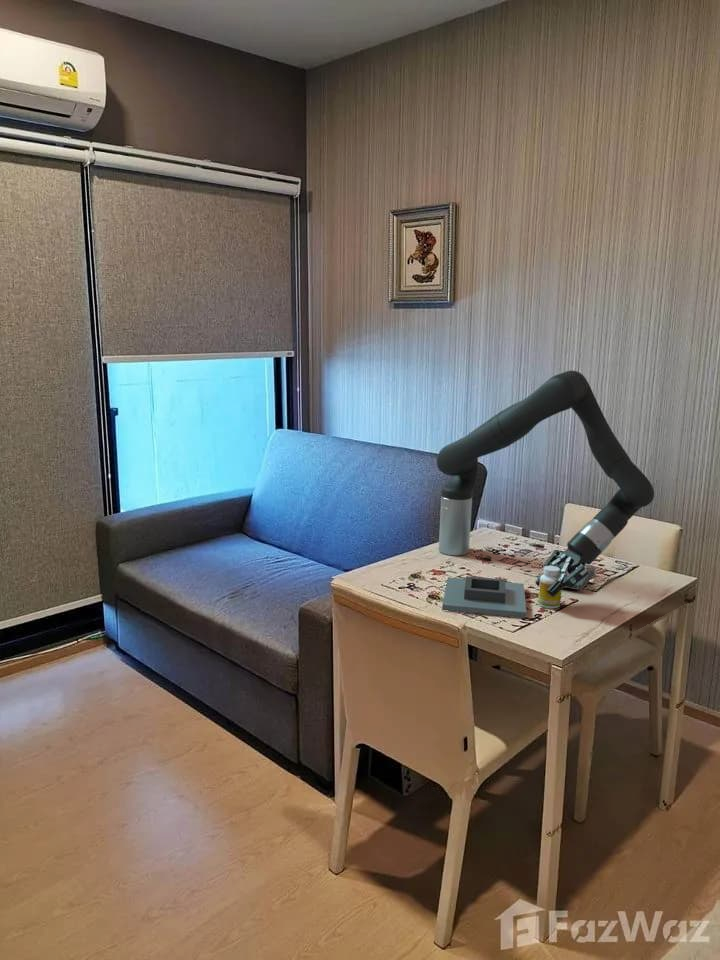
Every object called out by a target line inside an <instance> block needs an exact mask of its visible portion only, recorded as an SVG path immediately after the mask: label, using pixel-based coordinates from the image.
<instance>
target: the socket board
mask: <svg viewBox="0 0 720 960" xmlns="http://www.w3.org/2000/svg"><path fill="white" fill-rule="evenodd" d="M465 576H466V577H465V578H461V577H449V576H448V577H447V579H446V585H445V589H444V595H443V600H442V604H441V605H442V606H441V607H442V608H441V611H442V610H448V611H447V612H453V611H454V612H456V613H464V612H465V613H467V614H475V613H480V614H479V615H485V614H488V616H496V615H498V616H500V617H506V618H507V617H508V618H509V617H510V618H518V619H527V606H526V605H527V603H526V594H525V586H524V585H525V584H524V583H521V582H519V583H518V582H509V581H508V582H507V581H506V579H503V578H492V577H491V578H490V577H480V576H479V577H478V576H470V575H465ZM454 612H453V613H454ZM465 613H464V614H465ZM498 616H497V617H498Z"/></svg>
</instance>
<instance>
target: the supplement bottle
mask: <svg viewBox="0 0 720 960" xmlns="http://www.w3.org/2000/svg"><path fill="white" fill-rule="evenodd" d="M543 573H544V574H543ZM543 573H542V574H543V575H542V574H541V575H542V576H541V575H540V576H541V577H540V576H539V577H540V585H539V586H538V601H537V604H538V606H540V607H541V608H545V609H549V610H551V609H558V608H560V606H561V600H562V599H561V597H562V589H561V590H560V591H559V592H558V593H557V594H556V595H555V596H553V597H552V596H551V595H550V594H549V593H548V592H547V590H548V588H549V587H550V586H551V585H552V584H553V583H554V582H555V581H556V580H557V581H558V579H559V577H560V576H559V575H560V568H558V567H555V566H550V565H548V566H545V567H544V568H543Z"/></svg>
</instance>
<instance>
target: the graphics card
mask: <svg viewBox="0 0 720 960" xmlns="http://www.w3.org/2000/svg"><path fill="white" fill-rule="evenodd" d="M557 565H558V564H557ZM557 567H558V566H557ZM584 567H585V568H586V569H587V570H588V572H589V574H588V575H586V576H585V577H584V578H583V579H581V580H580V581H579V582H578V583H577V584H575V585H574V586H573V587H571V588H570V587H569V586H566V587H564V588H565V589H566V588H567V589H574V590H577V591H578V590H579V591H582V589H583V588H585V586H587V584H588V583H589V580H590V579H593V578H594V577H595V578H596V576H595V575H597V573H596V572H597V565H596V566H594V565H592V564H585V566H584ZM558 568H559V567H558ZM560 575H561V574H560ZM560 575H559V576H560ZM578 575H579V574H578ZM565 578H566V577H565ZM574 579H575V578H573V580H574ZM573 580H570V581H571V582H572V581H573Z"/></svg>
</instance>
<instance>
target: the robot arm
mask: <svg viewBox="0 0 720 960" xmlns="http://www.w3.org/2000/svg"><path fill="white" fill-rule="evenodd" d="M569 409H570V410H571V409H572V410H573V412H574V413H575V414H576V416H577V417H578V419H579V420H580V421H581V424H582V426H583V428H584V431H585V435H586V439H587V441H588V446H589V448H590V450H591V453H592V456H593V457H594V458H595V460H596V461H597V463H598V466H600V468H601V469H602V471H603V472H604V474H605V475H606V477H608V478H609V479H611V480H613V481H614V482H615V483H616V484H617V486H618V487H619V489H618V490H617V492H616V493H615V494H614V495H612V497H611V499H610V500H609V502H607V504H606V505H605V506H604V507H602V509H600V510H599V511H598V512H597V514H596V515H594V517H593V518H592V519H590V520H589V521H588V522H586V523H585V524H584V525H583V527H581V529H579V530H578V532H576V534H574V536H573V537H571V539H570V540H568V542H567V545H566V546H567V548H566V550H564V551H562V552H560V551H559V550H558V549H554V550H553V552H552V553H551V554H550V555H549V556H548V558H547V559H546V561H545V562H544V563H543V564H542V568H543V569H544V567H545V566H555V567H557V566H558V567H559V568H560V574H561V575H560V577H559V579H558V581H557V580H556V581H555V582H554V583H553V584H552V585H551V586H550V587H549V588H548V590H547V592H548V593H549V594H550V595H551V596H552V597H553V596H555V595H556V594H557V593H558V592H559V591H560V590H561V591H562V589H563V588H565V587H566V586H569V587H570V588H569V589H572V588H571V587H573V586H574V585H575V584H577V583H578V582H579V581H580V580H581V579H583V578H584V577H585V576H586V575H588V574H589V572H588V570H589V569H588V570H587V569H586V566H585V564H586V565H592V563H593V562H594V561H595V560H597V558H598V557H599V556H600V555H601V554H602V553H603V552H604V550H606V549H607V548H608V546H610V544H611V543H612V541H614V539H615V538H616V537H617V536H618V535H619V534H620V533H621V532H622V530H624V529H625V528H626V526H627V524H628V522H629V520H630V519H631V518H632V517H633V516H634V515H635V514H636V513H637V512H638V511H639V510H640V509H642V508H645V507H647V506H649V505H651V503H652V502H653V501H654V498H655V490H654V487H653V484H652V483H651V482H650V480H649V478H648V477H647V476H646V475H645V474H644V473H643V472H642V471H641V470H640V468H639V467H638V466H637V465H635V464H634V462H633V461H632V460H631V458H630V457H629V455H628V453H627V452H626V450H625V448H623V446H622V444H621V443H620V442H619V440H618V438H617V437H616V435H615V433H614V432H613V430H612V428H611V427H610V425H609V423H608V421H607V419H606V417H605V416H604V413H603V411H602V409H601V407H600V405H599V403H598V401H597V399H596V397H595V394H594V392H593V390H592V387H591V386H590V383H589V382H588V380H587V378H586V377H585V376H584V375H583V374H582V373H581V372H579V371H577V370H567V371H564V372H562V373H558V374H556V375H553V376H552V377H550V378H548V379H547V380H546V381H545V382H544V383H543V384H541V385H540V386H539V387H538V388H537V389H536V390H534V391H533V392H532V393H531V394H530V395H528V396H527V397H526V398H524V399H522V400H520V401H518V402H516V403H514V404H511V405H510V406H508V407H506V408H505V409H503V410H501V411H499V412H498V413H497V414H495V415H494V416H492V417H490V418H489V419H488V420H487V421H485V422H483V423H482V424H480V425H479V426H477V427H476V428H475V429H474V430H472V431H471V432H469V433H468V434H467V435H465V436H462V438H460V439H458V440H455V441H453V442H451V443H448V444H447V445H445V446H444V447H442V448H441V449H440V450H439V453H438V455H437V458H436V465H437V468H438V470H439V471H440V472H441V473H442V474H444V475H446V476H450V478H449V480H447V482H446V483H445V484H444V485H443V486H442V488H441V492H440V493H441V494H440V496H441V497H440V514H439V516H440V517H439V518H440V519H439V532H438V533H439V537H438V538H439V539H438V551H439V553H442V554H445V555H449V556H464V555H467V554H469V553H470V539H471V523H472V522H471V521H472V506H473V492H474V490H475V488H476V485H477V476H478V474H477V473H478V467H479V465H478V464H479V458H481V457H483V456H487V455H489V454H490V455H491V454H492V453H493V454H494V453H495V452H498V451H500V450H503V449H506V448H508V447H509V446H511V445H513V444H515V443H516V442H518V441H519V440H521V439H522V438H525V436H526V435H528V434H529V433H530V432H531V431H532V430H533V429H534V428H535V427H536V426H537V425H538V424H539V423H541V422H542V421H544V420H546V419H549V418H551V417H552V416H554V415H555V416H556V415H557V414H559V413H562V412H564V411H565V412H566V411H567V410H569ZM557 564H558V565H557ZM584 566H585V567H584ZM543 574H544V573H542V574H541V575H540V576H539V577H538V578H537V579H536V581H534V582H535V585H537V587H539V585H540V577H541V576H542V575H543ZM578 574H579V575H578ZM565 577H566V578H565ZM573 578H575V579H574V580H573ZM570 580H573V581H572V582H571V581H570Z"/></svg>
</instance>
